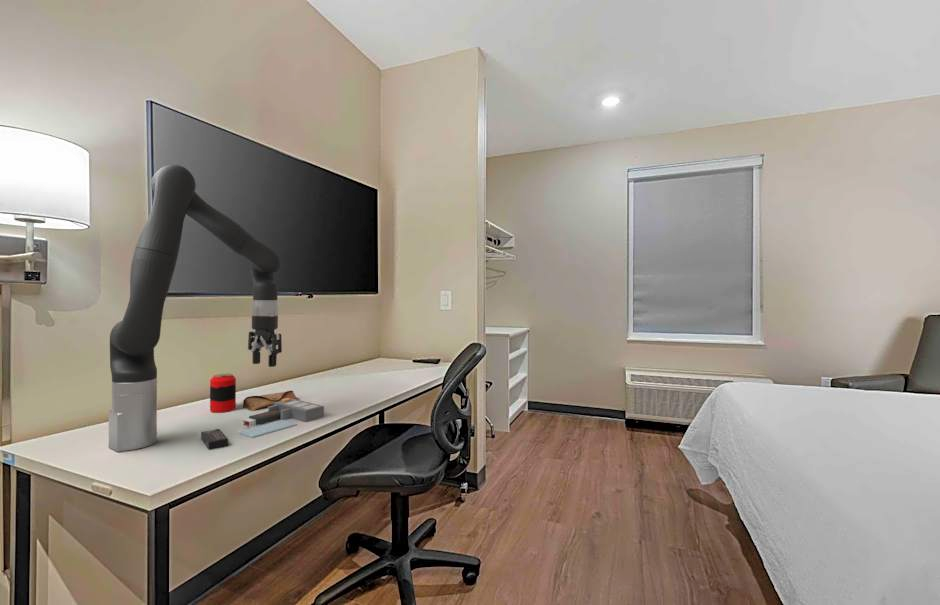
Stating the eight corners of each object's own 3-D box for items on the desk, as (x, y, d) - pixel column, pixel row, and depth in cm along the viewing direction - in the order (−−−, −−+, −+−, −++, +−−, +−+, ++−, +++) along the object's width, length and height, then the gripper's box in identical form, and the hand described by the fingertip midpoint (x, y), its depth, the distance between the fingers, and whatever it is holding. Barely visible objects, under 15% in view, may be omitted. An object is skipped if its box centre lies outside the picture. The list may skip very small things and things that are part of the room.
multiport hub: (208, 451, 106) (208, 442, 106) (200, 440, 114) (200, 431, 114) (228, 447, 109) (228, 438, 109) (219, 436, 117) (219, 428, 117)
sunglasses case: (251, 411, 141) (247, 393, 143) (244, 418, 145) (241, 400, 147) (303, 402, 154) (299, 385, 156) (295, 408, 158) (292, 392, 160)
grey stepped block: (297, 424, 128) (297, 410, 128) (265, 415, 137) (265, 402, 137) (323, 416, 136) (324, 403, 136) (292, 408, 145) (292, 396, 145)
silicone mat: (252, 438, 115) (252, 436, 115) (238, 433, 119) (238, 431, 119) (296, 425, 127) (296, 423, 127) (282, 421, 131) (282, 419, 131)
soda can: (212, 414, 137) (213, 378, 137) (207, 409, 143) (207, 374, 142) (238, 410, 142) (238, 375, 142) (232, 405, 148) (232, 372, 148)
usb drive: (286, 418, 135) (286, 410, 135) (251, 428, 125) (251, 419, 125) (276, 416, 138) (276, 407, 138) (241, 425, 127) (241, 416, 127)
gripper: (240, 313, 132) (239, 364, 133) (267, 315, 125) (266, 369, 125) (262, 313, 139) (262, 361, 139) (289, 315, 132) (288, 366, 132)
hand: (264, 365), depth 132 cm, fingers open, 8 cm apart
